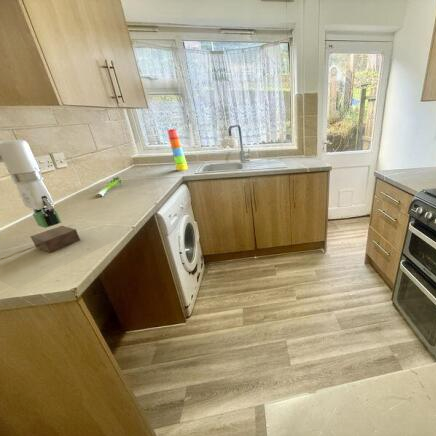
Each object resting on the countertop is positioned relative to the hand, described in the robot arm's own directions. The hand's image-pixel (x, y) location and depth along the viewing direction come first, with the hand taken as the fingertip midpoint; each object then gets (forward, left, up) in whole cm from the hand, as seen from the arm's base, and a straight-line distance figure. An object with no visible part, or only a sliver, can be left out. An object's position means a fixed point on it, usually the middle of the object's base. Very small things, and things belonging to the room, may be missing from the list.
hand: (49, 223), depth 93 cm
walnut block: (0, 0, -9) cm, 9 cm away
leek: (+56, +57, -9) cm, 80 cm away
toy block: (0, 0, 0) cm, 0 cm away
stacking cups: (+118, +56, -9) cm, 131 cm away
